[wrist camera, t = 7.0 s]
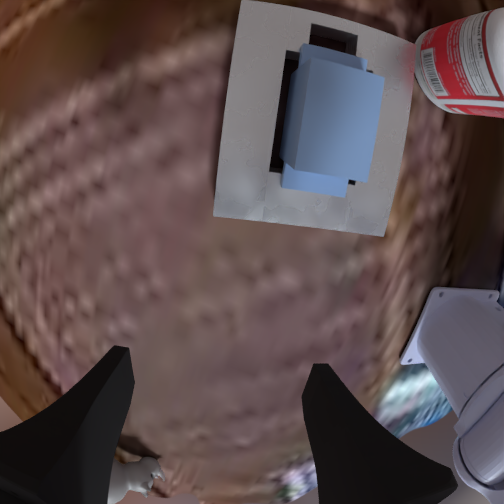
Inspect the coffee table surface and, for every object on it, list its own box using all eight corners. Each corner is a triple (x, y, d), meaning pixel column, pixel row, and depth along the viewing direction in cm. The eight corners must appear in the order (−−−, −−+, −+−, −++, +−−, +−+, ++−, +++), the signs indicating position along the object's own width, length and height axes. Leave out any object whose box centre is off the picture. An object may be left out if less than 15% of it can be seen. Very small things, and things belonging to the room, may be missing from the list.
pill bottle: (484, 73, 14) (600, 79, 4) (455, 130, 16) (583, 162, 6) (428, 13, 13) (545, -22, 3) (393, 69, 15) (528, 48, 5)
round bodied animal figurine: (151, 453, 34) (168, 506, 27) (67, 452, 28) (77, 509, 21) (159, 432, 31) (178, 493, 25) (62, 430, 25) (71, 496, 19)
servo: (293, 54, 15) (314, 30, 10) (349, 67, 15) (387, 52, 10) (275, 178, 18) (289, 199, 13) (330, 186, 18) (361, 210, 13)
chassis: (400, 50, 14) (416, 44, 12) (371, 225, 19) (383, 236, 17) (241, 11, 13) (241, -1, 12) (215, 206, 18) (212, 216, 16)
